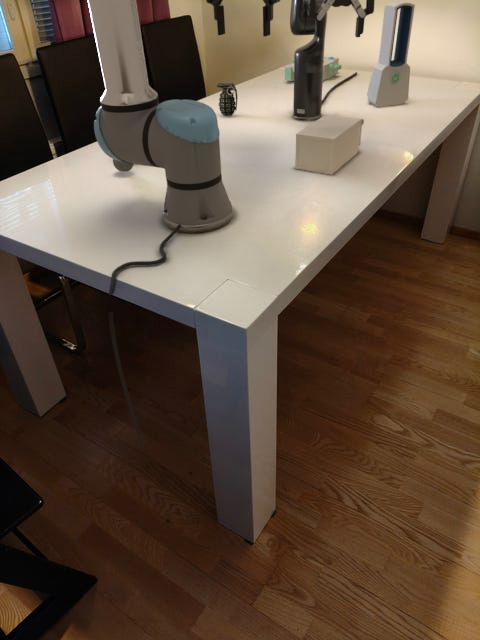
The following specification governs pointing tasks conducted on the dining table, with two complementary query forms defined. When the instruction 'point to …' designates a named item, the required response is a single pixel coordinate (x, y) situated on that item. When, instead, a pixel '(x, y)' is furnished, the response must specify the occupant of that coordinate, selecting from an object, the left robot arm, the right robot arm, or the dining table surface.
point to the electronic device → (391, 75)
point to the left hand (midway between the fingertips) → (243, 35)
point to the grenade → (227, 99)
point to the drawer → (360, 130)
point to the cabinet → (327, 144)
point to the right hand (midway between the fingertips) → (338, 38)
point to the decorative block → (328, 68)
